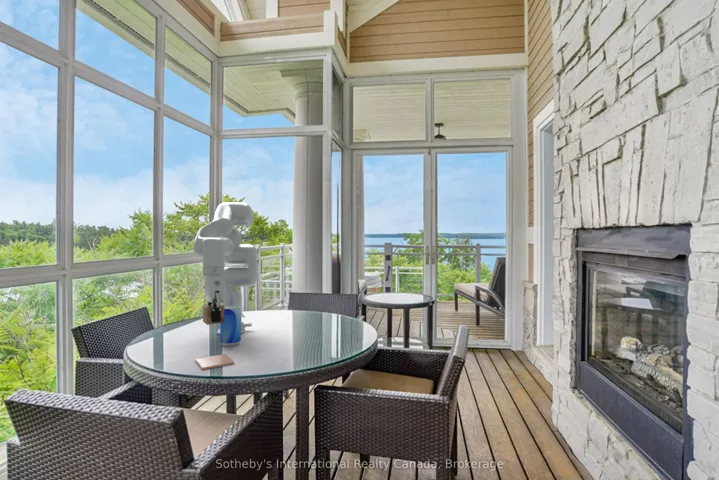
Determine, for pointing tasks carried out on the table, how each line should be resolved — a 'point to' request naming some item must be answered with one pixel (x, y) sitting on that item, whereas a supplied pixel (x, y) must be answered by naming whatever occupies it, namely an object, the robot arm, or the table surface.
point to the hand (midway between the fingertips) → (213, 319)
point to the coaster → (214, 361)
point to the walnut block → (207, 314)
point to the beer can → (231, 326)
